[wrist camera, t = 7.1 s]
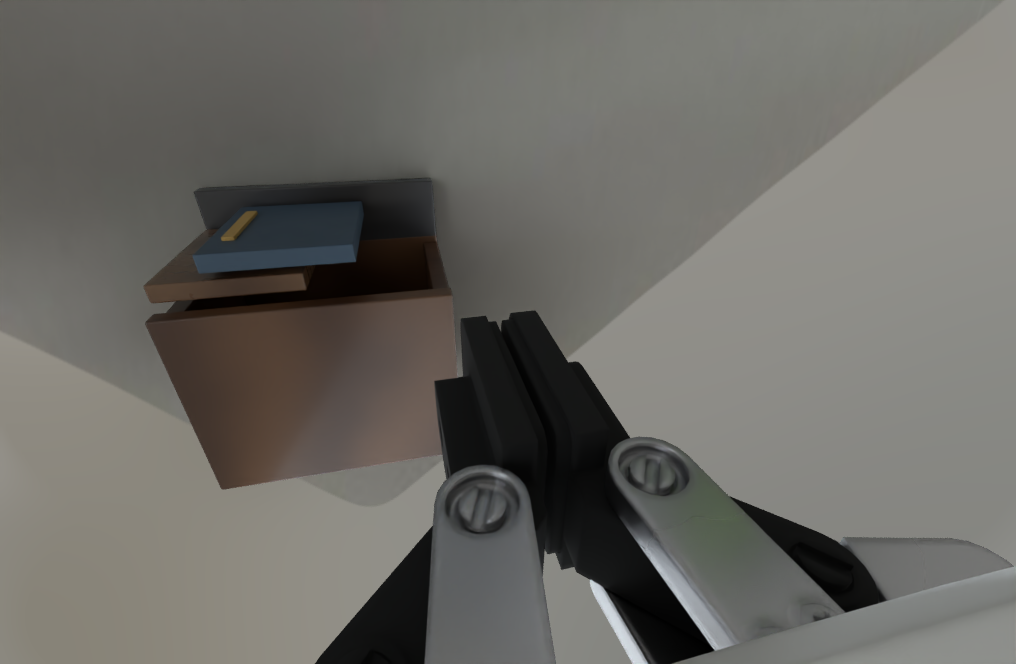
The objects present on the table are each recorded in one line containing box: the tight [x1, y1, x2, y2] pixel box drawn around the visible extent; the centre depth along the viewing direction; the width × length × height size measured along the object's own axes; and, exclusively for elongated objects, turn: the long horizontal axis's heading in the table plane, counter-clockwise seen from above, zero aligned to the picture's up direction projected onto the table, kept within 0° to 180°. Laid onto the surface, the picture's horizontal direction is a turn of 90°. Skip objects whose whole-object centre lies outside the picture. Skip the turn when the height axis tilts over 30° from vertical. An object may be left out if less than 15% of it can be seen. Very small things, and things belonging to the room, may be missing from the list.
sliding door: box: [192, 201, 364, 274], centre depth 21 cm, size 6×1×7 cm, turn 90°
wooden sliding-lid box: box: [144, 178, 458, 489], centre depth 24 cm, size 12×13×9 cm
